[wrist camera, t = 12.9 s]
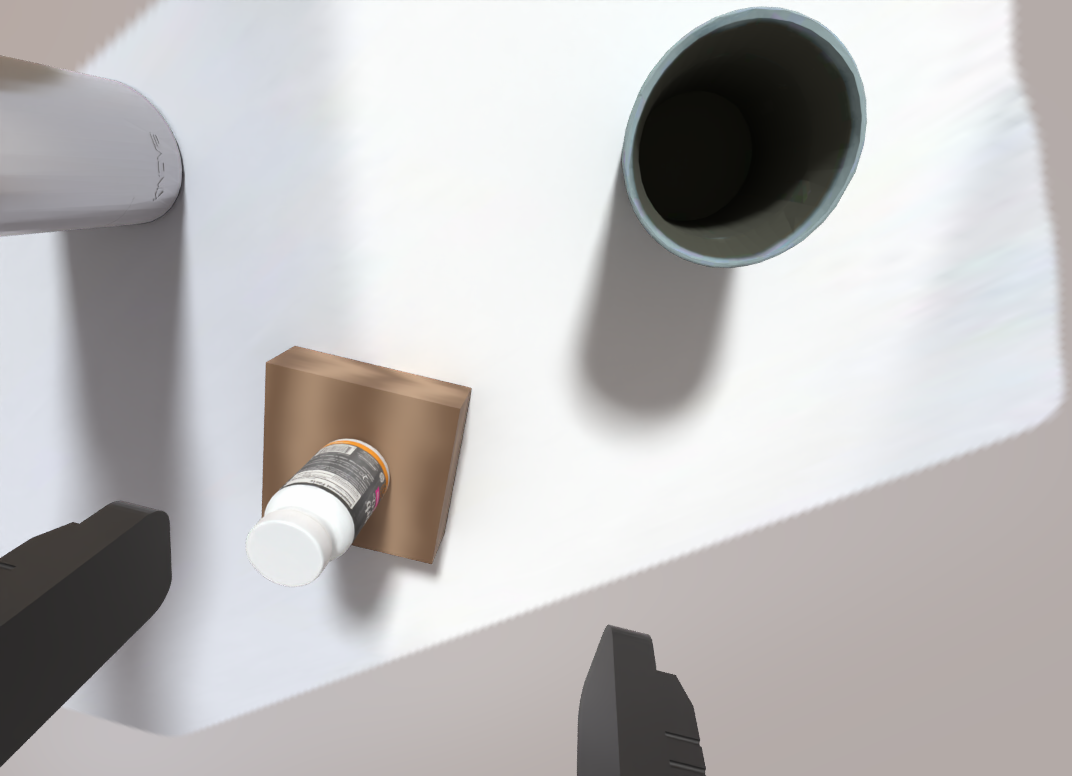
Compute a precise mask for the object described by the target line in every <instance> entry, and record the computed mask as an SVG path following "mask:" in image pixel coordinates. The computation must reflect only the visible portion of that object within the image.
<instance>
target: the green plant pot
mask: <svg viewBox="0 0 1072 776" xmlns="http://www.w3.org/2000/svg"><path fill="white" fill-rule="evenodd" d="M866 124H867V118H866V97H865V92H864V86H863V83H862V80H861V77H860V74H859V72H858V69H857V66H856V64H855V62H854V60H853V58H852V56H851V55H850V53H849V51H848V50H847V49H846V47H845V46H844V45H843V43H842V42H841V41H840V40H839V39H838V38H837V36H836V35H835V34H833V33H832V32H831V31H830V30H829V29H828V28H827V27H825V26H824V25H822V24H821V23H820V22H818V21H816V20H814V19H812V18H810V17H807V16H805V15H803V14H801V13H799V12H796V11H792V10H788V9H783V8H778V7H750V8H745V9H740V10H735V11H732V12H729V13H726V14H723V15H720V16H718V17H715V18H713V19H711V20H709V21H707V22H705V23H704V24H702V25H700V26H698V27H696V28H695V29H693V30H692V31H691V32H689V33H688V34H686V35H685V36H684V37H682V38H681V39H680V40H679V41H678V42H677V43H676V44H675V45H674V46H673V47H671V48H670V49H669V50H668V51H667V52H666V53H665V55H664V56H663V57H662V58H661V60H660V61H659V62H658V63H657V65H656V66H655V67H654V68H653V70H652V71H651V72H650V74H649V75H648V77H647V79H646V81H645V82H644V84H643V86H642V87H641V90H640V92H639V94H638V96H637V99H636V101H635V104H634V106H633V109H632V111H631V114H630V117H629V120H628V124H627V127H626V132H625V137H624V143H623V149H622V167H623V174H624V180H625V186H626V190H627V194H628V197H629V200H630V202H631V205H632V207H633V210H634V212H635V214H636V216H637V217H638V219H639V221H640V222H641V224H642V225H643V227H644V228H645V229H646V231H647V232H648V233H649V234H650V235H651V236H652V237H653V238H654V239H655V240H656V241H657V242H658V243H659V244H660V245H661V246H663V247H664V248H665V249H667V250H668V251H670V252H671V253H673V254H675V255H676V256H678V257H680V258H682V259H685V260H687V261H690V262H693V263H696V264H700V265H704V266H708V267H720V268H733V267H741V266H748V265H752V264H756V263H760V262H763V261H765V260H768V259H770V258H773V257H775V256H777V255H780V254H781V253H783V252H785V251H787V250H788V249H790V248H792V247H794V246H795V245H797V244H798V243H800V242H802V241H803V240H804V239H805V238H806V237H808V236H809V235H810V234H811V233H812V232H813V231H814V230H815V229H816V228H817V227H819V226H820V225H821V224H822V223H823V222H824V221H825V219H826V218H827V217H828V216H829V214H830V213H831V212H832V211H833V210H834V208H835V207H836V206H837V204H838V202H839V200H840V199H841V197H842V195H843V193H844V191H845V190H846V188H847V186H848V184H849V183H850V181H851V179H852V177H853V175H854V174H855V172H856V168H857V165H858V162H859V159H860V155H861V152H862V149H863V146H864V140H865V132H866Z"/></svg>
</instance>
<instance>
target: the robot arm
mask: <svg viewBox="0 0 1072 776" xmlns="http://www.w3.org/2000/svg"><path fill="white" fill-rule="evenodd" d="M181 179H182V165H181V157H180V152H179V149H178V146H177V143H176V139H175V137H174V135H173V133H172V131H171V129H170V127H169V125H168V123H167V122H166V121H165V119H164V118H163V116H162V115H161V114H160V112H159V111H158V109H157V108H156V107H155V106H154V105H153V104H152V103H151V102H150V101H149V100H148V99H147V98H146V97H144V96H143V95H141V94H140V93H139V92H137V91H136V90H134V89H133V88H131V87H129V86H127V85H125V84H123V83H121V82H118V81H115V80H110V79H106V78H101V77H97V76H92V75H88V74H83V73H79V72H74V71H70V70H65V69H60V68H57V67H53V66H48V65H44V64H39V63H34V62H30V61H25V60H20V59H15V58H11V57H6V56H2V55H0V237H2V236H13V235H24V234H35V233H45V232H56V231H67V230H78V229H88V228H101V227H112V226H122V225H132V224H142V223H146V222H151V221H153V220H155V219H157V218H159V217H161V216H163V215H164V214H165V213H166V212H167V211H168V210H169V209H170V208H171V207H172V205H173V203H174V202H175V200H176V198H177V196H178V193H179V190H180V186H181ZM171 579H172V571H171V547H170V522H169V517H168V515H167V514H166V513H165V512H163V511H160V510H156V509H152V508H148V507H144V506H140V505H136V504H132V503H128V502H124V501H116V502H113V503H110V504H109V505H107V506H105V507H104V508H102V509H101V510H99V511H98V512H96V513H95V514H93V515H92V516H90V517H89V518H87V519H86V520H84V521H83V522H81V523H80V524H78V523H74V522H72V523H69V524H67V525H64V526H62V527H59V528H56V529H54V530H51V531H49V532H46V533H44V534H41V535H38V536H36V537H33V538H31V539H29V540H28V541H26V542H25V543H23V544H22V545H20V546H18V547H17V548H15V549H14V550H12V551H11V552H9V553H7V554H6V555H4V556H3V557H1V558H0V767H1V766H2V765H3V764H4V763H5V762H6V761H7V760H8V759H9V758H10V757H11V756H12V755H13V754H14V753H15V752H16V751H17V750H18V749H19V748H20V747H21V746H22V745H23V744H24V743H25V742H26V741H27V740H28V739H29V738H30V737H31V736H32V735H33V734H34V733H35V732H36V731H37V730H38V729H39V728H40V727H41V726H42V725H43V724H44V723H45V722H46V721H47V720H48V719H49V718H50V717H51V716H52V715H53V714H54V713H55V712H56V711H57V710H58V709H59V708H60V707H61V706H62V705H63V704H64V703H65V702H66V701H67V700H68V699H69V698H70V697H71V696H72V695H73V694H74V693H75V692H76V691H77V690H78V689H79V688H80V687H81V686H82V685H83V684H84V683H85V682H86V681H87V680H88V679H89V678H90V677H91V676H92V675H93V674H94V673H95V672H96V671H97V670H98V669H99V668H100V667H101V666H102V665H103V664H104V663H105V662H106V661H107V660H108V659H109V658H110V657H111V656H112V655H113V654H114V653H115V652H116V651H117V650H118V649H119V648H120V647H121V646H122V645H123V644H124V643H125V642H126V641H127V640H128V639H129V638H130V637H131V636H132V635H133V634H134V633H135V632H137V631H138V630H139V629H140V628H141V627H142V626H143V625H144V624H145V623H146V622H147V621H148V620H149V619H150V618H151V617H152V616H153V614H154V613H155V612H156V611H157V610H158V608H159V607H160V606H161V604H162V603H163V601H164V599H165V597H166V595H167V593H168V591H169V588H170V584H171ZM699 742H700V738H699V732H698V728H697V722H696V718H695V712H694V708H693V705H692V703H691V701H690V700H689V698H688V696H687V694H686V692H685V691H684V689H683V687H682V685H681V684H680V682H679V680H678V678H677V677H676V675H673V674H669V673H665V672H661V671H657V670H656V663H655V656H654V650H653V643H652V639H651V637H650V636H649V635H648V634H644V633H640V632H636V631H632V630H628V629H623V628H620V627H615V626H612V625H607V626H606V628H605V630H604V632H603V635H602V637H601V640H600V643H599V645H598V648H597V651H596V653H595V656H594V659H593V661H592V664H591V667H590V669H589V672H588V675H587V677H586V680H585V683H584V686H583V690H582V694H581V699H580V706H579V715H578V745H577V776H706V775H705V770H706V767H705V762H704V757H703V753H702V747H700V745H699Z"/></svg>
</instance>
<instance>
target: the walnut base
mask: <svg viewBox="0 0 1072 776" xmlns="http://www.w3.org/2000/svg"><path fill="white" fill-rule="evenodd" d="M471 389H472V388H469V387H465V386H461V385H457V384H452V383H448V382H444V381H440V380H436V379H431V378H427V377H423V376H419V375H415V374H410V373H406V372H402V371H398V370H394V369H389V368H385V367H381V366H377V365H373V364H369V363H364V362H360V361H356V360H352V359H348V358H343V357H339V356H335V355H331V354H327V353H322V352H318V351H314V350H310V349H306V348H301V347H297V346H294V347H292V348H290V349H289V350H287V351H285V352H283V353H282V354H280V355H278V356H276V357H275V358H273V359H271V360H269V361H268V362H266V378H265V415H264V452H263V489H262V518H263V517H264V514H265V510H266V507H267V504H268V503H269V501H270V499H271V498H272V497H273V496H274V495H275V494H276V493H277V492H278V491H279V490H280V488H281V487H282V486H283V485H284V484H286V482H287V481H288V480H290V479H291V478H292V477H293V476H294V475H295V474H296V473H297V472H298V471H299V470H300V469H301V468H302V467H303V466H304V465H305V464H306V463H307V462H308V461H309V460H310V459H311V458H312V457H313V456H314V455H315V454H316V453H317V452H318V451H319V450H320V449H322V448H323V447H324V446H325V445H327V444H329V443H330V442H333V441H335V440H339V439H355V440H360V441H362V442H364V443H367V444H369V445H371V446H372V447H373V448H375V449H376V450H377V451H378V452H379V453H380V454H381V456H382V457H383V458H384V460H385V462H386V463H387V466H388V469H389V475H390V481H389V486H388V488H387V491H386V492H385V494H384V496H383V497H382V499H381V500H380V502H379V504H378V505H377V507H376V508H375V510H374V511H373V513H372V514H371V516H370V517H369V519H368V520H367V522H366V523H365V525H364V526H363V527H362V529H361V531H360V532H359V534H358V535H357V537H356V538H355V540H354V542H353V543H352V545H353V546H358V547H362V548H366V549H370V550H374V551H379V552H383V553H387V554H391V555H395V556H400V557H404V558H408V559H412V560H416V561H421V562H425V563H429V564H432V563H433V560H434V558H435V555H436V553H437V550H438V548H439V545H440V543H441V540H442V538H443V535H444V532H445V527H446V521H447V516H448V511H449V506H450V500H451V495H452V490H453V484H454V479H455V474H456V469H457V463H458V458H459V453H460V447H461V442H462V437H463V431H464V426H465V421H466V416H467V410H468V405H469V400H470V394H471Z"/></svg>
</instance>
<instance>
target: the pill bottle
mask: <svg viewBox="0 0 1072 776" xmlns="http://www.w3.org/2000/svg"><path fill="white" fill-rule="evenodd" d="M389 481H390V475H389V469H388V466H387V463H386V462H385V460H384V458H383V457H382V456H381V454H380V453H379V452H378V451H377V450H376V449H375V448H373V447H372V446H371V445H369V444H367V443H364V442H362V441H360V440H355V439H339V440H335V441H333V442H330V443H329V444H327V445H325V446H324V447H323V448H322V449H320V450H319V451H318V452H317V453H316V454H315V455H314V456H313V457H312V458H311V459H310V460H309V461H308V462H307V463H306V464H305V465H304V466H303V467H302V468H301V469H300V470H299V471H298V472H297V473H296V474H295V475H294V476H293V477H292V478H291V479H290V480H288V481H287V482H286V484H284V485H283V486H282V487H281V488H280V490H279V491H278V492H277V493H276V494H275V495H274V496H273V497H272V498H271V499H270V501H269V503H268V504H267V507H266V510H265V514H264V517H263V518H262V519H261V520H260V521H259V522H258V523H257V524H256V525H255V526H254V527H253V528H252V530H251V531H250V532H249V534H248V536H247V539H246V553H247V556H248V558H249V560H250V562H251V564H252V565H253V567H254V568H255V569H256V570H257V571H258V572H259V573H260V574H261V575H262V576H263V577H265V578H266V579H268V580H270V581H272V582H274V583H276V584H279V585H283V586H288V587H298V586H303V585H307V584H309V583H311V582H313V581H314V580H315V579H316V578H317V577H318V576H319V575H320V574H321V573H322V571H323V570H324V569H325V567H326V566H327V564H328V562H330V561H332V560H335V559H336V558H338V557H340V556H341V555H342V554H344V553H345V552H346V551H347V550H348V549H349V547H350V546H351V545H352V543H353V542H354V540H355V538H356V537H357V535H358V534H359V532H360V531H361V529H362V527H363V526H364V525H365V523H366V522H367V520H368V519H369V517H370V516H371V514H372V513H373V511H374V510H375V508H376V507H377V505H378V504H379V502H380V500H381V499H382V497H383V496H384V494H385V492H386V491H387V488H388V486H389Z"/></svg>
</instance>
